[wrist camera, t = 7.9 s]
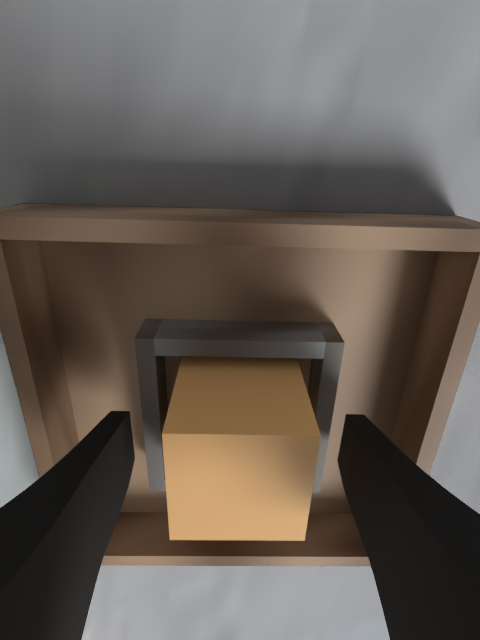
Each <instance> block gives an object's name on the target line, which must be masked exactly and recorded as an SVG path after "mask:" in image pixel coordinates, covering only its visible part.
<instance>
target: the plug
mask: <svg viewBox="0 0 480 640" xmlns="http://www.w3.org/2000/svg"><path fill="white" fill-rule="evenodd" d="M320 439H321V434H320V431H319V428H318V425H317V421H316V418H315V415H314V412H313V408H312V405H311V402H310V399H309V395H308V392H307V389H306V386H305V382H304V379H303V376H302V373H301V370H300V366H299V363H298V360H297V358H256V357H202V356H182V358H181V361H180V365H179V369H178V373H177V377H176V381H175V385H174V389H173V393H172V396H171V400H170V404H169V408H168V412H167V416H166V420H165V424H164V428H163V432H162V441H163V455H164V469H165V482H166V496H167V509H168V523H169V537H170V540H267V541H305V536H306V529H307V523H308V516H309V510H310V503H311V497H312V490H313V484H314V477H315V471H316V465H317V458H318V452H319V445H320Z"/></svg>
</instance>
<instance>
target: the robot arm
mask: <svg viewBox="0 0 480 640" xmlns="http://www.w3.org/2000/svg"><path fill="white" fill-rule="evenodd" d="M134 461H135V453H134V444H133V436H132V427H131V418H130V411H110V412H109V413H108V414H107V415H106V416H105V417H104V418H103V419H102V420H101V421H100V422H99V423H98V424H97V425H96V426H95V427H94V428H93V429H92V430H91V431H90V432H89V433H88V434H87V435H86V436H85V437H84V438H83V439H82V440H81V441H80V442H79V443H78V444H77V445H76V446H75V447H74V448H73V449H72V450H71V451H70V452H69V453H67V454H66V455H65V456H64V457H63V458H62V459H61V460H60V461H59V462H58V463H56V464H55V465H54V466H53V467H52V468H51V469H50V470H48V471H47V472H46V473H45V474H44V475H43V476H42V477H40V478H39V479H38V480H37V481H36V482H34V483H33V484H32V485H31V486H29V487H28V488H27V489H26V490H24V491H23V492H22V493H20V494H19V495H18V496H16V497H15V498H14V499H12V500H11V501H10V502H8V503H7V504H5V505H4V506H3V507H1V508H0V640H81V638H82V634H83V630H84V626H85V622H86V618H87V614H88V610H89V606H90V603H91V599H92V595H93V591H94V587H95V584H96V580H97V576H98V573H99V569H100V566H101V563H102V560H103V557H104V554H105V551H106V549H107V546H108V543H109V540H110V538H111V535H112V532H113V529H114V527H115V524H116V521H117V518H118V516H119V513H120V510H121V507H122V504H123V502H124V499H125V496H126V493H127V490H128V487H129V483H130V479H131V474H132V470H133V465H134ZM337 461H338V466H339V470H340V475H341V479H342V484H343V488H344V491H345V494H346V497H347V500H348V503H349V506H350V508H351V511H352V514H353V517H354V520H355V522H356V525H357V528H358V531H359V533H360V536H361V539H362V542H363V544H364V547H365V550H366V553H367V555H368V558H369V561H370V564H371V568H372V571H373V574H374V577H375V581H376V585H377V589H378V593H379V596H380V600H381V604H382V608H383V612H384V616H385V620H386V624H387V628H388V632H389V636H390V640H480V514H479V513H477V512H476V511H474V510H473V509H471V508H470V507H469V506H467V505H466V504H465V503H463V502H462V501H461V500H459V499H458V498H457V497H455V496H454V495H453V494H451V493H450V492H449V491H447V490H446V489H445V488H444V487H442V486H441V485H440V484H439V483H437V482H436V481H435V480H434V479H433V478H431V477H430V476H429V475H428V474H427V473H426V472H424V471H423V470H422V469H421V468H420V467H419V466H417V465H416V464H415V463H414V462H413V461H412V460H411V459H410V458H409V457H407V456H406V455H405V454H404V453H403V452H402V451H401V450H400V449H399V448H398V447H397V446H396V445H395V444H394V443H393V442H392V441H391V440H390V439H389V438H388V437H387V436H386V435H384V434H383V433H382V432H381V431H380V430H379V429H378V428H377V427H376V426H375V425H374V424H373V423H372V422H371V421H370V420H369V419H368V418H367V417H366V416H365V415H364V414H346V416H345V422H344V427H343V432H342V438H341V443H340V449H339V454H338V459H337Z"/></svg>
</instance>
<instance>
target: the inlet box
mask: <svg viewBox="0 0 480 640" xmlns="http://www.w3.org/2000/svg"><path fill="white" fill-rule="evenodd" d="M479 322H480V222H478V221H474V220H470V219H467V218H463V217H460V216H447V215H412V214H378V213H343V212H309V211H274V210H240V209H205V208H171V207H136V206H102V205H68V204H33V203H21V204H16V205H12V206H8V207H3V208H0V329H1V333H2V337H3V340H4V344H5V348H6V352H7V355H8V359H9V363H10V367H11V371H12V374H13V378H14V382H15V386H16V389H17V393H18V397H19V401H20V405H21V408H22V412H23V416H24V420H25V424H26V427H27V431H28V435H29V439H30V442H31V446H32V450H33V454H34V458H35V461H36V465H37V469H38V473H39V476H40V477H42V476H43V475H44V474H45V473H46V472H47V471H48V470H50V469H51V468H52V467H53V466H54V465H55V464H56V463H58V462H59V461H60V460H61V459H62V458H63V457H64V456H65V455H66V454H67V453H69V452H70V451H71V450H72V449H73V448H74V447H75V446H76V445H77V444H78V443H79V442H80V441H81V440H82V439H83V438H84V437H85V436H86V435H87V434H88V433H89V432H90V431H91V430H92V429H93V428H94V427H95V426H96V425H97V424H98V423H99V422H100V421H101V420H102V419H103V418H104V417H105V416H106V415H107V414H108V413H109V412H110V411H130V418H131V427H132V436H133V444H134V453H135V461H134V465H133V470H132V474H131V479H130V483H129V487H128V490H127V493H126V496H125V499H124V502H123V504H122V507H121V510H120V513H119V516H118V518H117V521H116V524H115V527H114V529H113V532H112V535H111V538H110V540H109V543H108V546H107V549H106V551H105V554H104V557H103V560H102V563H101V565H174V566H371V564H370V561H369V558H368V555H367V553H366V550H365V547H364V544H363V542H362V539H361V536H360V533H359V531H358V528H357V525H356V522H355V520H354V517H353V514H352V511H351V508H350V506H349V503H348V500H347V497H346V494H345V491H344V488H343V484H342V479H341V475H340V470H339V466H338V461H337V459H338V454H339V449H340V443H341V438H342V432H343V427H344V422H345V416H346V414H364V415H365V416H366V417H367V418H368V419H369V420H370V421H371V422H372V423H373V424H374V425H375V426H376V427H377V428H378V429H379V430H380V431H381V432H382V433H383V434H384V435H386V436H387V437H388V438H389V439H390V440H391V441H392V442H393V443H394V444H395V445H396V446H397V447H398V448H399V449H400V450H401V451H402V452H403V453H404V454H405V455H406V456H407V457H409V458H410V459H411V460H412V461H413V462H414V463H415V464H416V465H417V466H419V467H420V468H421V469H422V470H423V471H424V472H426V473H427V474H428V475H429V474H430V471H431V468H432V465H433V462H434V459H435V456H436V453H437V450H438V447H439V443H440V440H441V437H442V434H443V431H444V428H445V425H446V422H447V419H448V416H449V413H450V410H451V407H452V404H453V401H454V398H455V395H456V392H457V389H458V386H459V383H460V380H461V376H462V373H463V370H464V367H465V364H466V361H467V358H468V355H469V352H470V349H471V346H472V343H473V340H474V337H475V334H476V331H477V328H478V325H479ZM182 356H202V357H256V358H297V360H298V363H299V366H300V370H301V373H302V376H303V379H304V382H305V386H306V389H307V392H308V395H309V399H310V402H311V405H312V408H313V412H314V415H315V418H316V421H317V425H318V428H319V431H320V434H321V439H320V445H319V452H318V458H317V465H316V471H315V477H314V484H313V490H312V497H311V503H310V510H309V516H308V523H307V529H306V536H305V541H267V540H170V537H169V523H168V509H167V496H166V482H165V469H164V455H163V441H162V432H163V428H164V424H165V420H166V416H167V412H168V408H169V404H170V400H171V396H172V393H173V389H174V385H175V381H176V377H177V373H178V369H179V365H180V361H181V358H182Z"/></svg>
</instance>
